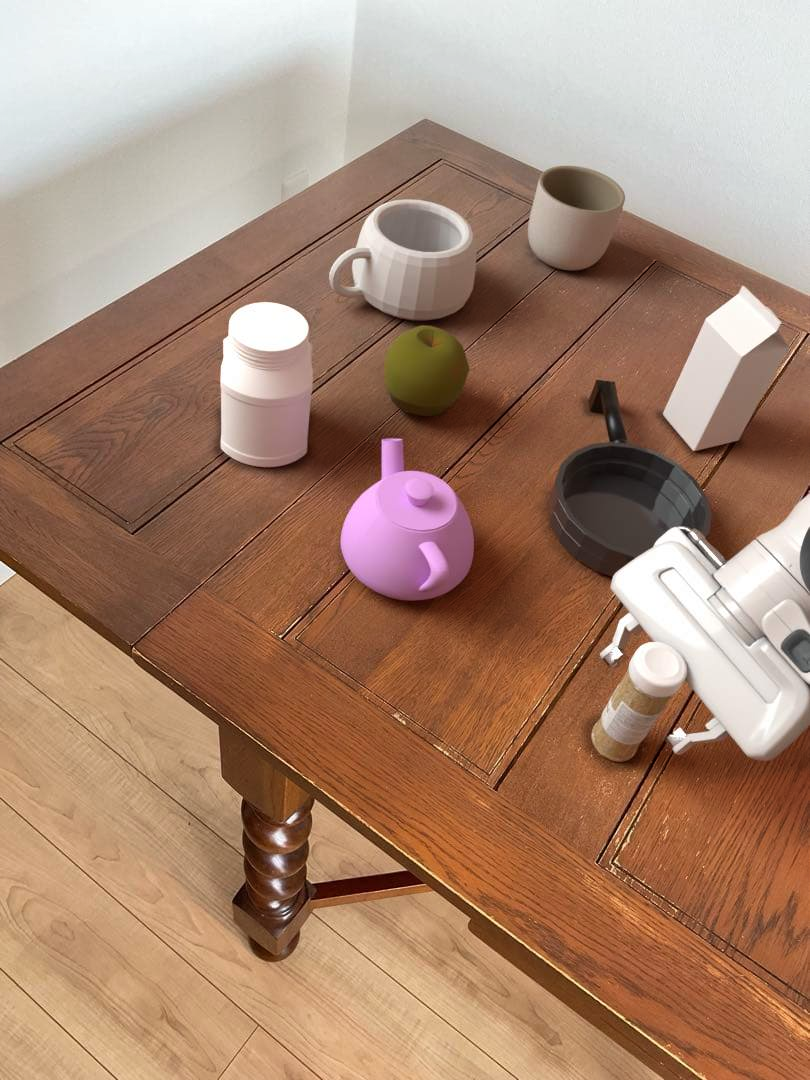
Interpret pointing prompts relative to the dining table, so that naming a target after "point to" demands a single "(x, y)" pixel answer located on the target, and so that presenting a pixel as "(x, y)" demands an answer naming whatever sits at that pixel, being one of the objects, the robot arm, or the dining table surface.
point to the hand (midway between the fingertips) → (637, 703)
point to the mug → (411, 261)
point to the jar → (266, 385)
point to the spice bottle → (638, 700)
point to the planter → (573, 216)
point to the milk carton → (726, 372)
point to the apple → (425, 370)
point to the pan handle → (608, 409)
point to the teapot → (407, 533)
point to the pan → (622, 503)
